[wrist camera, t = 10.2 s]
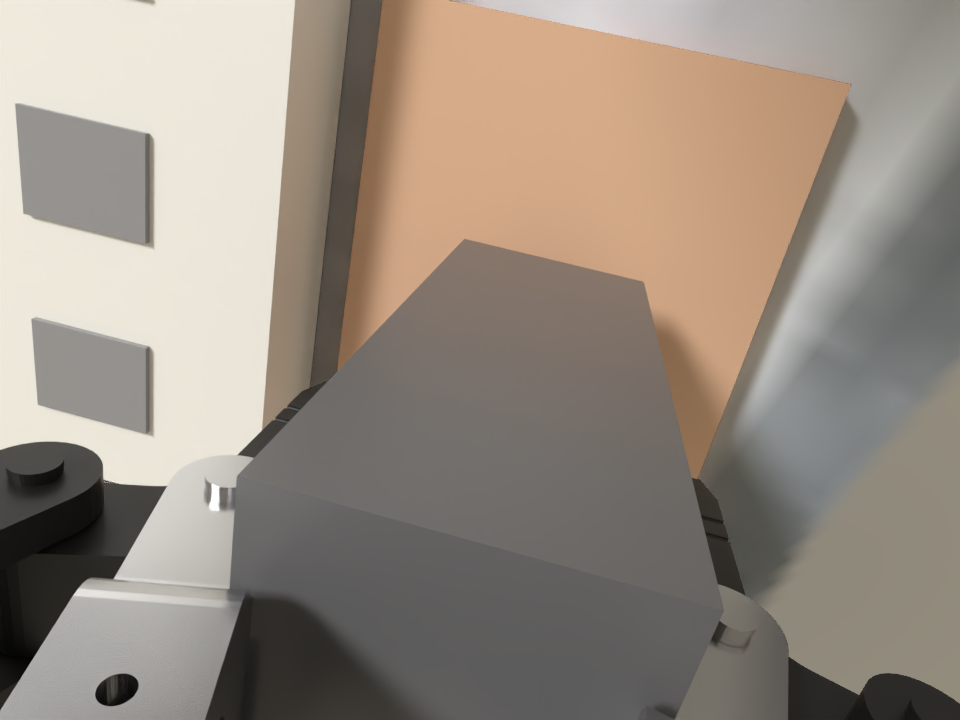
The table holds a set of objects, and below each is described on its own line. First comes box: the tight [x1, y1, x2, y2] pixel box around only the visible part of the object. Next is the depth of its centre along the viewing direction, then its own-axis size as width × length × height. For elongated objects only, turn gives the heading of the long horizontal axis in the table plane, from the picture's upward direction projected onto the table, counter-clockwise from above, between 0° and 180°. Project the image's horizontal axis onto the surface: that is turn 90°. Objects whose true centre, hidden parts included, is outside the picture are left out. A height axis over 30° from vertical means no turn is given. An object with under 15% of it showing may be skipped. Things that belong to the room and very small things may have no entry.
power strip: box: [0, 0, 351, 486], centre depth 18 cm, size 28×9×3 cm, turn 168°
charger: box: [229, 239, 724, 720], centre depth 11 cm, size 5×4×10 cm
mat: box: [337, 0, 851, 479], centre depth 17 cm, size 14×10×1 cm
